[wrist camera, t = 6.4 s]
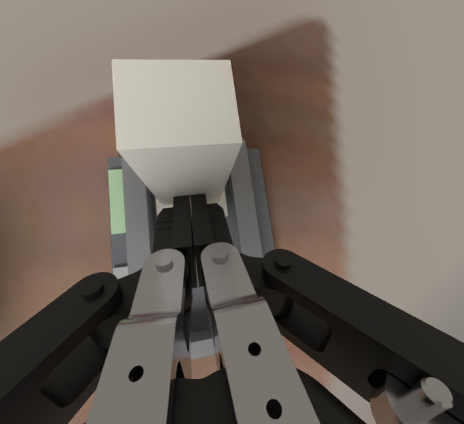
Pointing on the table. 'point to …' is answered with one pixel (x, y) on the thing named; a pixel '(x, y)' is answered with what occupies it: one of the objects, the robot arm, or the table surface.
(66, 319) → the robot arm
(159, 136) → the block
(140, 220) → the grey slotted stand
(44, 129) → the table surface
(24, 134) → the table surface
